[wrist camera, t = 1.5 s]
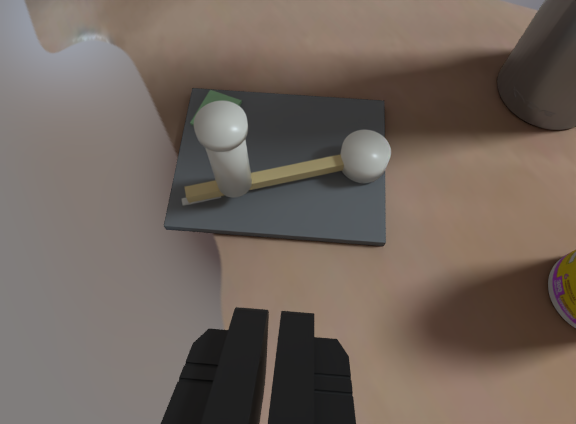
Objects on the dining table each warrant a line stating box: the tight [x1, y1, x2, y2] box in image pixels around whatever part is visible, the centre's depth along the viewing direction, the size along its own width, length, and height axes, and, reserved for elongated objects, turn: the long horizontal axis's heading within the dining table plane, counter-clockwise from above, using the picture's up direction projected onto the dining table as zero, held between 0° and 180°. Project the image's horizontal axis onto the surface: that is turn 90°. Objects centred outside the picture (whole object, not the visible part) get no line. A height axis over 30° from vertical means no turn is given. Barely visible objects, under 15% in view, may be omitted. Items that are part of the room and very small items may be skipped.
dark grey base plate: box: [164, 88, 386, 246], centre depth 38 cm, size 14×18×1 cm
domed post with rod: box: [185, 101, 391, 203], centre depth 33 cm, size 17×4×10 cm, turn 103°
